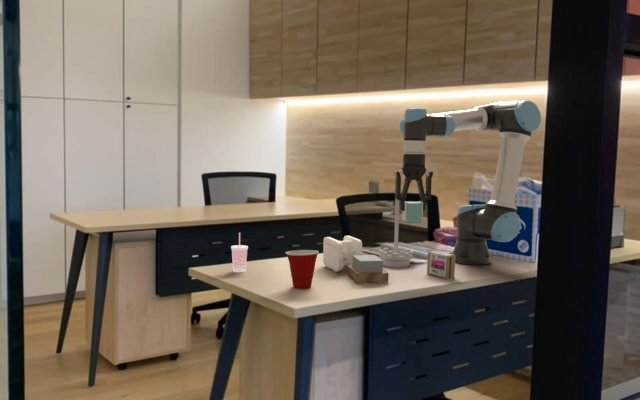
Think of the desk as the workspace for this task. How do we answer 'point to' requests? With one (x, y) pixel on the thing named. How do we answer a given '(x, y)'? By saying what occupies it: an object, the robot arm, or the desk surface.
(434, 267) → the ink box
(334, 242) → the cable organizer
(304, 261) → the plastic cup
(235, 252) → the beverage cup
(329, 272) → the desk surface
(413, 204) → the teal block
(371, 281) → the walnut slab
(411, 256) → the flag stand
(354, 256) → the grey slab
